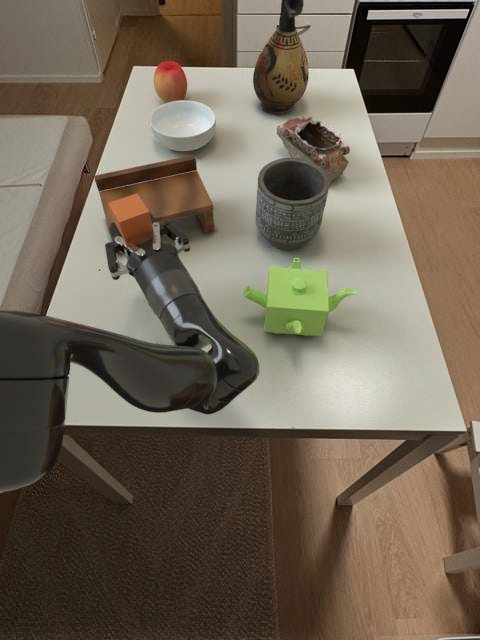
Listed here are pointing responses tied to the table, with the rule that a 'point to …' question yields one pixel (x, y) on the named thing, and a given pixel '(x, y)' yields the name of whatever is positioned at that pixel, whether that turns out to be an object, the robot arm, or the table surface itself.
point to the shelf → (160, 190)
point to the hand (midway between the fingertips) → (129, 220)
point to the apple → (170, 81)
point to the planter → (291, 201)
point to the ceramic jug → (282, 64)
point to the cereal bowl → (183, 125)
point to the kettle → (296, 300)
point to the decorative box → (315, 144)
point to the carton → (132, 219)
